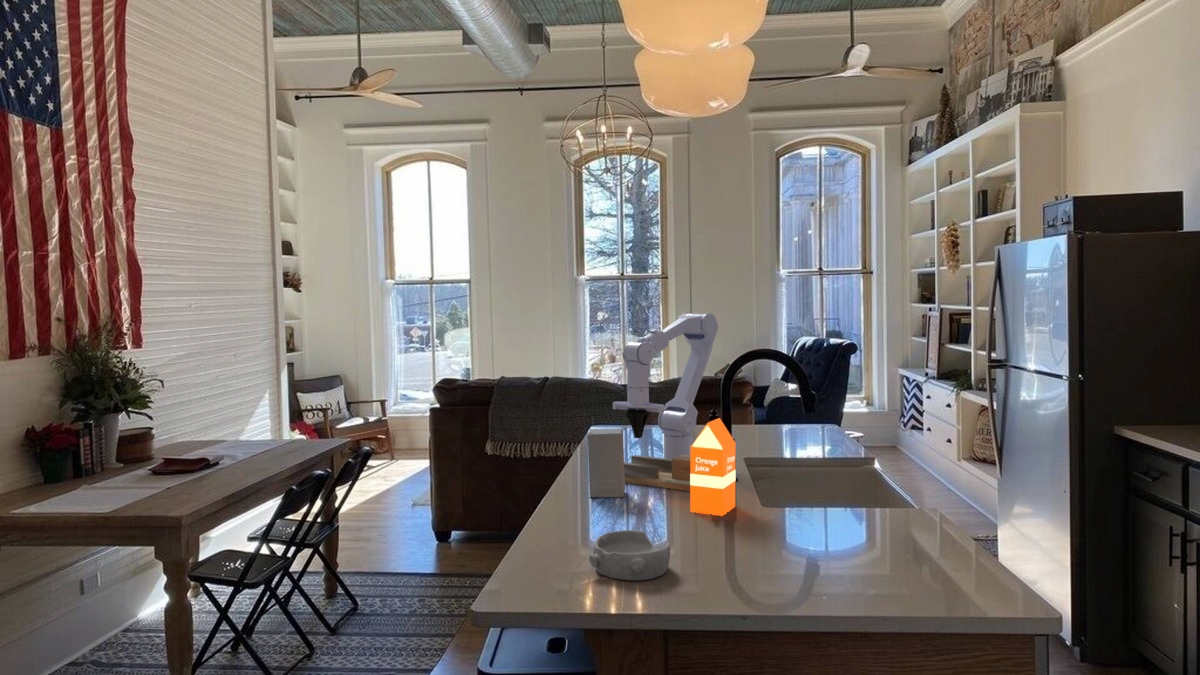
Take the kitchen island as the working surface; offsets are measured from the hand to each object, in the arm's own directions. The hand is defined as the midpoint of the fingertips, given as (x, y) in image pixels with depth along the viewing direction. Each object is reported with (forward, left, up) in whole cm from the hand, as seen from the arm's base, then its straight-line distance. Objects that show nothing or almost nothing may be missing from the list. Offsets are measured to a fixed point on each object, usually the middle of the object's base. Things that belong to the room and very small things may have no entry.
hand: (638, 437), depth 210 cm
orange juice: (+22, +31, -10) cm, 39 cm away
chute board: (+3, +8, -10) cm, 13 cm away
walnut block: (+3, +15, -8) cm, 18 cm away
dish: (+65, +33, -10) cm, 74 cm away
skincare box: (+23, +4, -10) cm, 26 cm away
